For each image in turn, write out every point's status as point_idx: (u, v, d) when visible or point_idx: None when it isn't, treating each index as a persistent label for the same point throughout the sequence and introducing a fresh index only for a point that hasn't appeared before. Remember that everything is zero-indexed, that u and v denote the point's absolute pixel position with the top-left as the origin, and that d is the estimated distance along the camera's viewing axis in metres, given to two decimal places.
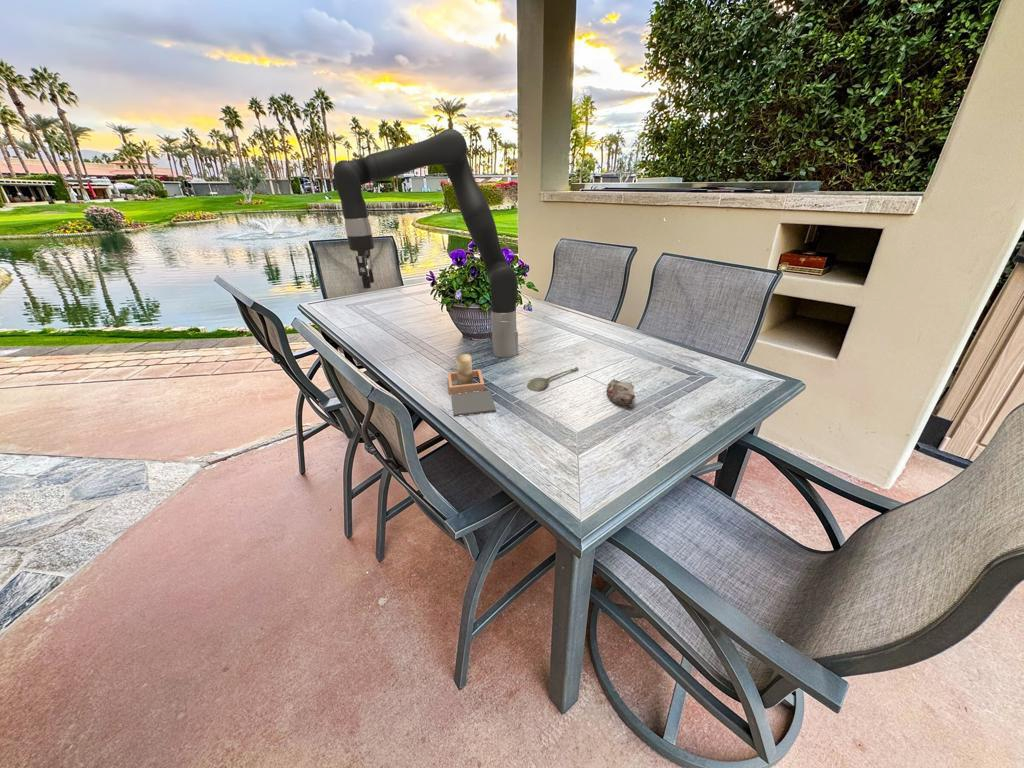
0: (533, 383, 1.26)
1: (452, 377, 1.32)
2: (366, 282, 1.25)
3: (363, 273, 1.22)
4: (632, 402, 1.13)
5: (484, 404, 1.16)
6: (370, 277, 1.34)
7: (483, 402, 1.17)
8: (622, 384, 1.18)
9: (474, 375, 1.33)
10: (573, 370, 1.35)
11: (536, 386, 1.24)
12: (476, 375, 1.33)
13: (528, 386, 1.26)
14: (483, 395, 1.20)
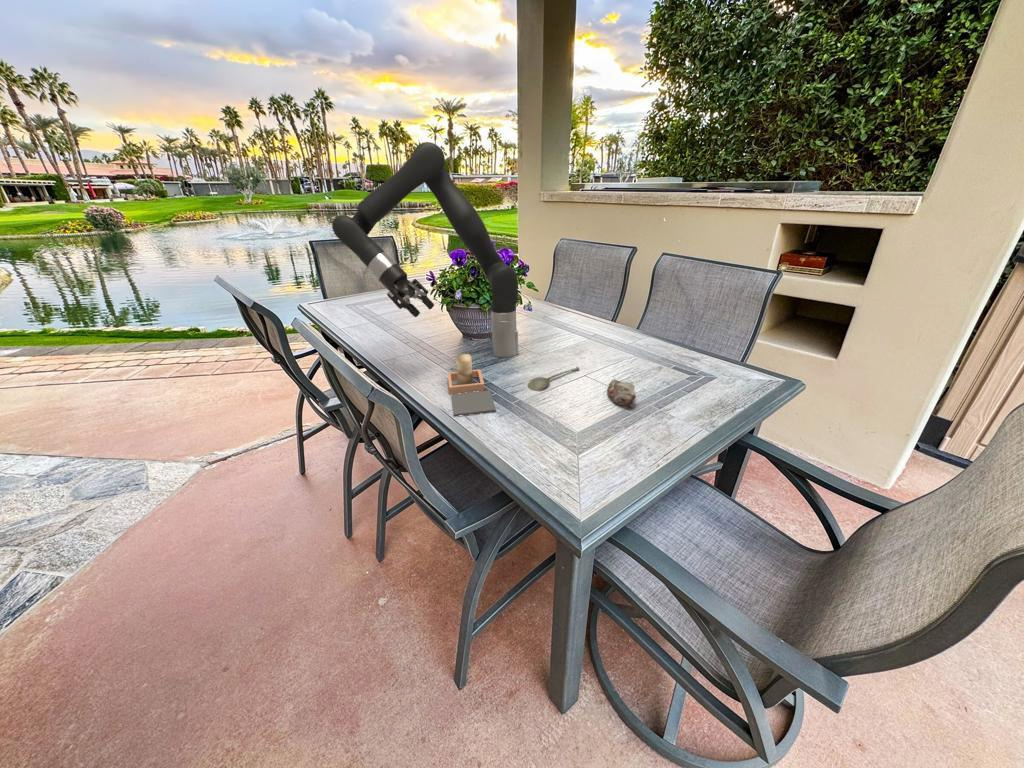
0: (533, 382, 1.26)
1: (452, 377, 1.32)
2: (411, 310, 1.17)
3: (400, 304, 1.15)
4: (633, 402, 1.13)
5: (484, 404, 1.16)
6: (427, 302, 1.24)
7: (483, 402, 1.17)
8: (622, 384, 1.18)
9: (474, 375, 1.33)
10: (574, 370, 1.35)
11: (537, 386, 1.24)
12: (476, 375, 1.33)
13: (529, 386, 1.26)
14: (483, 395, 1.20)
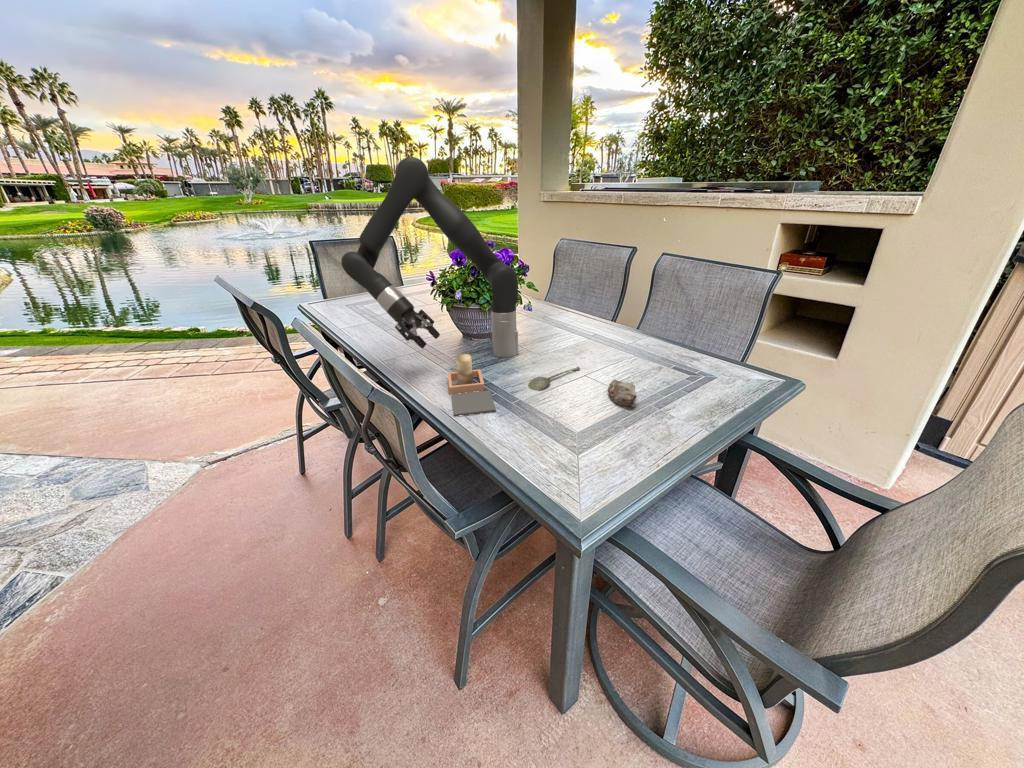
0: (534, 382, 1.26)
1: (452, 377, 1.32)
2: (418, 342, 1.21)
3: (408, 336, 1.19)
4: (633, 402, 1.13)
5: (484, 404, 1.16)
6: (433, 332, 1.29)
7: (483, 402, 1.17)
8: (623, 384, 1.18)
9: (474, 375, 1.33)
10: (574, 370, 1.35)
11: (538, 386, 1.24)
12: (476, 375, 1.33)
13: (529, 385, 1.26)
14: (483, 395, 1.20)
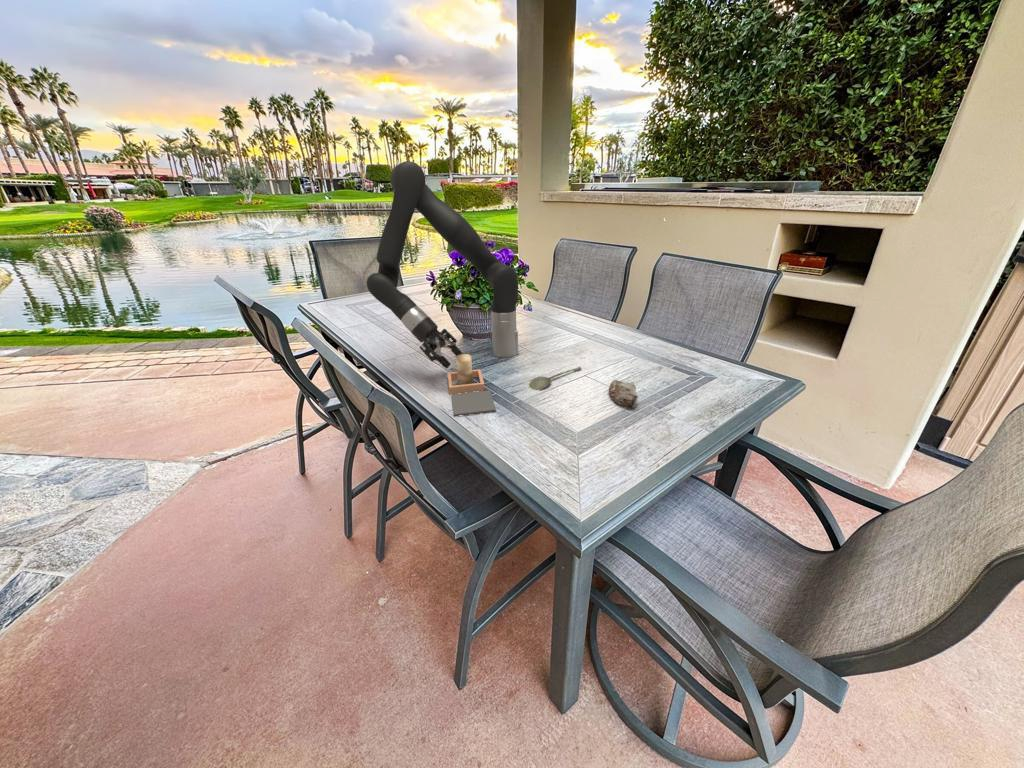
0: (535, 382, 1.26)
1: (452, 377, 1.32)
2: (442, 362, 1.21)
3: (432, 357, 1.19)
4: (634, 402, 1.12)
5: (484, 404, 1.16)
6: (456, 352, 1.29)
7: (483, 402, 1.17)
8: (624, 384, 1.18)
9: (474, 375, 1.33)
10: (576, 370, 1.35)
11: (538, 385, 1.25)
12: (476, 375, 1.33)
13: (530, 385, 1.27)
14: (483, 395, 1.20)
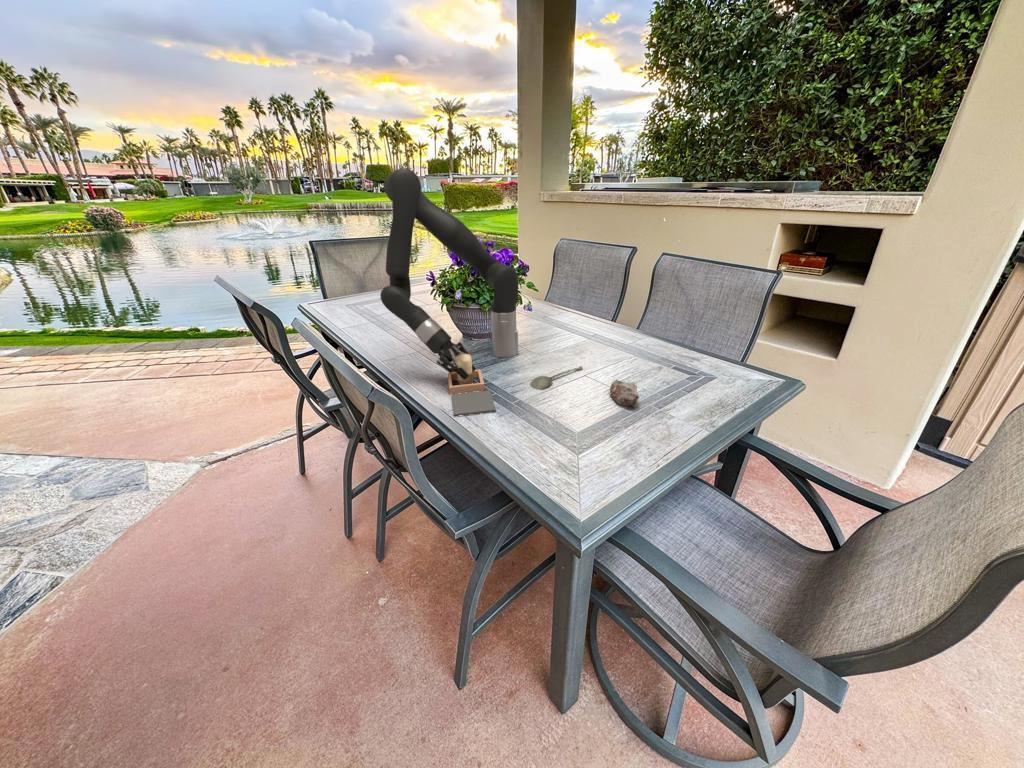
0: (536, 381, 1.27)
1: (452, 377, 1.32)
2: (461, 374, 1.23)
3: (451, 369, 1.21)
4: (636, 403, 1.12)
5: (484, 404, 1.16)
6: None
7: (483, 402, 1.17)
8: (625, 385, 1.18)
9: (474, 375, 1.33)
10: (577, 369, 1.35)
11: (539, 385, 1.25)
12: (476, 375, 1.33)
13: (531, 384, 1.27)
14: (483, 395, 1.20)
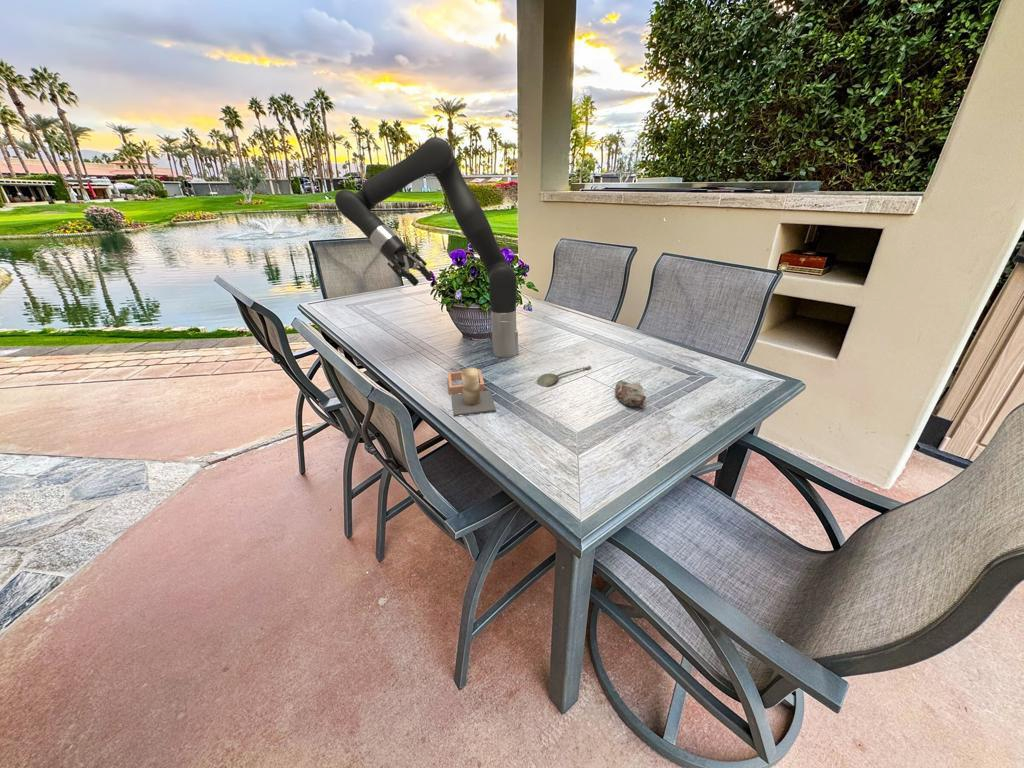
0: (542, 378, 1.28)
1: (452, 377, 1.32)
2: (410, 279, 1.24)
3: (400, 273, 1.22)
4: (643, 403, 1.12)
5: (484, 404, 1.16)
6: (426, 273, 1.31)
7: (483, 402, 1.17)
8: (630, 385, 1.17)
9: None
10: (585, 368, 1.36)
11: (545, 382, 1.27)
12: None
13: (538, 381, 1.29)
14: (483, 395, 1.20)
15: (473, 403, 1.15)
